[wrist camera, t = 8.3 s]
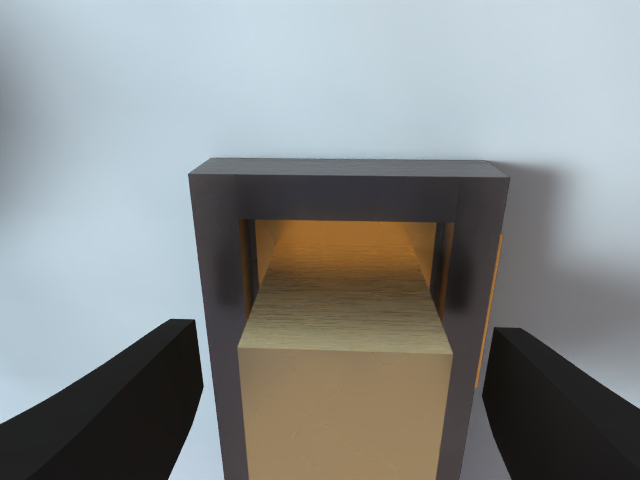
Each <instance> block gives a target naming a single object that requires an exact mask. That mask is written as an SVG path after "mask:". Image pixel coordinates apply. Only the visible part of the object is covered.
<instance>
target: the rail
mask: <svg viewBox="0 0 640 480" xmlns="http://www.w3.org/2000/svg"><path fill="white" fill-rule="evenodd" d="M188 177H189V186H190V194H191V203H192V211H193V219H194V228H195V236H196V244H197V253H198V261H199V270H200V278H201V286H202V295H203V303H204V312H205V320H206V328H207V337H208V345H209V353H210V362H211V370H212V379H213V387H214V395H215V404H216V412H217V421H218V429H219V437H220V446H221V454H222V462H223V471H224V479H225V480H249V473H248V462H247V451H246V439H245V428H244V417H243V406H242V394H241V383H240V372H239V361H238V350H237V347H238V344H239V342H240V339H241V336H242V334H243V331H244V329H245V326H246V323H247V321H248V318H249V315H250V313H251V310H252V307H253V305H254V302H255V299H256V297H257V294H258V291H259V289H260V286H261V284H262V281H263V278H264V276H265V273H266V270H267V268H268V265H269V262H270V260H271V257H272V254H273V252H274V249H275V246H276V245H325V246H378V247H413V249H414V252H415V254H416V257H417V260H418V262H419V265H420V268H421V270H422V273H423V276H424V278H425V281H426V284H427V286H428V289H429V291H430V294H431V297H432V299H433V302H434V305H435V307H436V310H437V313H438V315H439V318H440V321H441V323H442V326H443V329H444V331H445V334H446V336H447V339H448V342H449V344H450V347H451V350H452V352H453V359H452V366H451V373H450V381H449V388H448V395H447V402H446V409H445V416H444V423H443V430H442V438H441V445H440V452H439V459H438V466H437V473H436V480H459V477H460V471H461V465H462V459H463V453H464V447H465V442H466V436H467V430H468V424H469V418H470V412H471V406H472V400H473V394H474V388H477V385H478V379H479V373H480V367H481V361H482V356H483V350H484V344H485V338H486V332H487V327H488V321H489V315H490V309H491V303H492V297H493V292H494V286H495V280H496V274H497V268H498V263H499V257H500V251H501V245H502V239H503V234H502V233H501V229H502V223H503V217H504V211H505V205H506V199H507V193H508V187H509V181H510V177H509V176H507V175H506V174H505V173H503V172H502V171H500V170H499V169H497V168H496V167H494V166H493V165H491V164H490V163H488V162H487V161H484V160H374V159H265V158H210V159H209V160H207V161H206V162H204V163H203V164H201V165H200V166H199V167H197V168H196V169H194V170H193V171H191V172H190V173H189V174H188Z"/></svg>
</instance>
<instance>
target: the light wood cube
mask: <svg viewBox="0 0 640 480" xmlns="http://www.w3.org/2000/svg"><path fill="white" fill-rule="evenodd" d="M237 350H238V361H239V372H240V383H241V394H242V406H243V417H244V428H245V439H246V451H247V462H248V473H249V480H436V473H437V466H438V459H439V452H440V445H441V438H442V430H443V423H444V416H445V409H446V402H447V395H448V388H449V381H450V373H451V366H452V359H453V352H452V350H451V347H450V344H449V342H448V339H447V336H446V334H445V331H444V329H443V326H442V323H441V321H440V318H439V315H438V313H437V310H436V307H435V305H434V302H433V299H432V297H431V294H430V291H429V289H428V286H427V284H426V281H425V278H424V276H423V273H422V270H421V268H420V265H419V262H418V260H417V257H416V254H415V252H414V249H413V247H378V246H325V245H276V246H275V249H274V252H273V254H272V257H271V260H270V262H269V265H268V268H267V270H266V273H265V276H264V278H263V281H262V284H261V286H260V289H259V291H258V294H257V297H256V299H255V302H254V305H253V307H252V310H251V313H250V315H249V318H248V321H247V323H246V326H245V329H244V331H243V334H242V336H241V339H240V342H239V344H238V347H237Z"/></svg>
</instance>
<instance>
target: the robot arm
mask: <svg viewBox="0 0 640 480" xmlns="http://www.w3.org/2000/svg"><path fill="white" fill-rule="evenodd" d="M203 387H204V386H203V378H202V370H201V362H200V354H199V347H198V339H197V331H196V323H195V320H194V319H170V320H168V321H166V322H165V323H163V324H161V325H160V326H158V327H157V328H155V329H154V330H152V331H151V332H149V333H148V334H147V335H145V336H144V337H142V338H141V339H139V340H138V341H136V342H135V343H134V344H132V345H131V346H129V347H128V348H126V349H125V350H123V351H122V352H120V353H119V354H118V355H116V356H115V357H113V358H112V359H110V360H109V361H107V362H106V363H104V364H103V365H101V366H100V367H98V368H97V369H95V370H93V371H92V372H90V373H89V374H87V375H85V376H84V377H82V378H81V379H79V380H77V381H76V382H74V383H73V384H71V385H69V386H68V387H66V388H65V389H63V390H62V391H60V392H58V393H57V394H55V395H53V396H51V397H50V398H48V399H46V400H44V401H43V402H41V403H39V404H37V405H36V406H34V407H32V408H30V409H28V410H26V411H24V412H23V413H21V414H19V415H17V416H15V417H13V418H11V419H9V420H7V421H6V422H4V423H2V424H0V480H168V478H169V476H170V474H171V472H172V470H173V467H174V465H175V463H176V461H177V458H178V456H179V454H180V452H181V449H182V447H183V445H184V443H185V440H186V438H187V436H188V434H189V431H190V429H191V426H192V424H193V421H194V417H195V414H196V411H197V408H198V405H199V401H200V398H201V394H202V391H203ZM482 398H483V402H484V405H485V409H486V413H487V416H488V420H489V423H490V427H491V430H492V433H493V437H494V439H495V441H496V444H497V446H498V449H499V451H500V453H501V456H502V458H503V461H504V463H505V465H506V468H507V470H508V472H509V475H510V477H511V479H512V480H640V409H639V408H637V407H636V406H634V405H633V404H631V403H630V402H628V401H626V400H625V399H623V398H622V397H620V396H619V395H617V394H616V393H614V392H613V391H611V390H610V389H608V388H607V387H605V386H604V385H602V384H601V383H599V382H598V381H596V380H595V379H593V378H592V377H590V376H589V375H588V374H586V373H585V372H583V371H582V370H580V369H579V368H578V367H576V366H575V365H573V364H572V363H571V362H569V361H568V360H566V359H565V358H564V357H562V356H561V355H559V354H558V353H557V352H555V351H554V350H552V349H551V348H550V347H548V346H547V345H545V344H544V343H542V342H541V341H540V340H538V339H537V338H535V337H534V336H532V335H531V334H529V333H528V332H526V331H524V330H523V329H521V328H499V327H494V331H493V336H492V342H491V348H490V353H489V359H488V365H487V370H486V376H485V382H484V387H483V393H482Z"/></svg>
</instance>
